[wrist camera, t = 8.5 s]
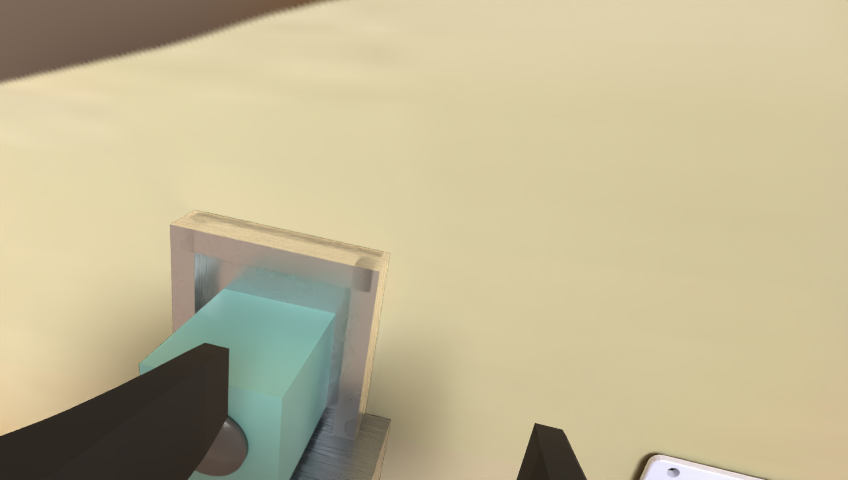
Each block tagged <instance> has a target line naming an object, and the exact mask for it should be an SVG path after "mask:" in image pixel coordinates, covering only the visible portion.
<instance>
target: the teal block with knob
mask: <svg viewBox="0 0 848 480" xmlns="http://www.w3.org/2000/svg"><path fill="white" fill-rule="evenodd" d="M335 315H336V314H334V313H330V312H325V311H321V310H316V309H312V308H308V307H303V306H299V305H294V304H290V303H285V302H281V301H276V300H272V299H267V298H263V297H258V296H254V295H249V294H245V293H241V292H236V291H232V290H227V289H223V290H222V291H221V292H219V293H218V294H217V295H216V296H215V297H214V298H213V299H212V300H210V301H209V302H208V303H207V304H206V305H205V306H204V307H203V308H201V309H200V310H199V311H198V312H197V313H196V314H195V315H194V316H192V317H191V318H190V319H189V320H188V321H187V322H186V323H185V324H183V325H182V326H181V327H180V328H179V329H178V330H177V331H176V332H174V333H173V334H172V335H171V336H170V337H169V338H168V339H167V340H165V341H164V342H163V343H162V344H161V345H160V346H159V347H158V348H156V349H155V350H154V351H153V352H152V353H151V354H150V355H149V356H147V357H146V358H145V359H144V360H143V361H142V362H141V363H140V364H139V368H140V375H142V374H144V373H146V372H148V371H150V370H152V369H154V368H156V367H158V366H160V365H162V364H164V363H166V362H167V361H169V360H171V359H173V358H175V357H177V356H179V355H181V354H183V353H185V352H187V351H189V350H191V349H193V348H195V347H197V346H199V345H201V344H203V343H209V344H213V345H217V346H221V347H225V348H229V386H228V417H227V419H226V421H225V422H224V424H223V426H222V428H221V430H220V431H219V433H218V435H217V437H216V439H215V440H214V442H213V444H212V445H211V447H210V449H209V450H208V452H207V454H206V456H205V457H204V458H203V460H202V461H201V463H200V464H199V465H198V467H197V468H196V469H195V471H194V472H193V473H192V475H191V476H190V477H189V479H188V480H290V478H291V476H292V474H293V472H294V470H295V468H296V466H297V464H298V462H299V460H300V458H301V456H302V454H303V452H304V450H305V448H306V446H307V444H308V442H309V440H310V438H311V436H312V434H313V432H314V430H315V428H316V426H317V424H318V422H319V420H320V418H321V416H322V414H323V412H324V410H325V408H326V402H327V392H328V383H329V373H330V363H331V353H332V344H333V334H334V324H335Z"/></svg>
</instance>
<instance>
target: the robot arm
mask: <svg viewBox="0 0 848 480" xmlns="http://www.w3.org/2000/svg"><path fill="white" fill-rule="evenodd" d="M228 386H229V348H225V347H221V346H217V345H213V344H209V343H203V344H201V345H199V346H197V347H195V348H193V349H191V350H189V351H187V352H185V353H183V354H181V355H179V356H177V357H175V358H173V359H171V360H169V361H167V362H166V363H164V364H162V365H160V366H158V367H156V368H154V369H152V370H150V371H148V372H146V373H144V374H142V375H140V376H138V377H136V378H134V379H132V380H130V381H128V382H126V383H124V384H122V385H120V386H118V387H116V388H114V389H112V390H110V391H108V392H105V393H103V394H101V395H99V396H97V397H95V398H92V399H90V400H88V401H86V402H84V403H82V404H79V405H77V406H75V407H73V408H71V409H69V410H66V411H64V412H62V413H59V414H57V415H54V416H52V417H49V418H47V419H45V420H42V421H40V422H37V423H34V424H32V425H29V426H26V427H24V428H21V429H19V430H16V431H13V432H11V433H8V434H5V435H2V436H0V480H188V479H189V477H190V476H191V475H192V473H193V472H194V471H195V469H196V468H197V467H198V465H199V464H200V463H201V461H202V460H203V458H204V457H205V456H206V454H207V452H208V450H209V449H210V447H211V445H212V444H213V442H214V440H215V439H216V437H217V435H218V433H219V431H220V430H221V428H222V426H223V424H224V422H225V421H226V419H227V417H228ZM670 468H676V469H674V470H668V469H670ZM517 480H587V479H586V477H585V475H584V473H583V471H582V469H581V466H580V464H579V462H578V460H577V458H576V456H575V454H574V452H573V450H572V447H571V445H570V443H569V441H568V439H567V437H566V435H565V433H564V431H563V430H561V429H557V428H553V427H549V426H545V425H541V424H537V423H535V425H534V428H533V431H532V434H531V437H530V440H529V443H528V446H527V449H526V453H525V456H524V459H523V462H522V465H521V468H520V471H519V474H518V477H517ZM640 480H763V479H759V478H755V477H751V476H747V475H743V474H739V473H734V472H730V471H726V470H722V469H718V468H714V467H710V466H706V465H702V464H698V463H694V462H689V461H685V460H681V459H677V458H673V457H669V456H665V455H655V456H653V457H651V458H650V459H649V460H648V462H647V464H646V466H645V468H644V471H643V473H642V475H641V477H640Z"/></svg>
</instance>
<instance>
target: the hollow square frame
mask: <svg viewBox="0 0 848 480" xmlns="http://www.w3.org/2000/svg"><path fill="white" fill-rule="evenodd" d="M170 241H171V276H172V311H173V333H174V332H176V331H177V330H178V329H179V328H180V327H181V326H182V325H183V324H185V323H186V322H187V321H188V320H189V319H190V318H191V317H192V316H194V315H195V314H196V313H197V312H198V311H199V310H200V309H201V308H203V307H204V306H205V305H206V304H207V303H208V302H209V301H210V300H212V299H213V298H214V297H215V296H216V295H217V294H218V293H219V292H221V291H222V290H223V289H227V290H232V291H236V292H241V293H245V294H249V295H254V296H258V297H263V298H267V299H272V300H276V301H281V302H285V303H290V304H294V305H299V306H303V307H308V308H312V309H316V310H321V311H325V312H330V313H334V314H336V315H335V324H334V334H333V344H332V353H331V363H330V373H329V383H328V392H327V402H326V408H325V410H324V412H323V414H322V416H321V418H320V420H319V422H318V424H317V426H316V428H315V430H314V432H313V434H312V436H311V438H310V440H309V442H308V444H307V446H306V448H305V450H304V452H303V454H302V456H301V458H300V460H299V462H298V464H297V466H296V468H295V470H294V472H293V474H292V476H291V478H290V480H380V475H381V469H382V464H383V458H384V453H385V447H386V442H387V436H388V431H389V425H390V420H389V419H385V418H381V417H377V416H373V415H369V414H365V410H366V404H367V397H368V391H369V385H370V378H371V372H372V365H373V359H374V353H375V346H376V340H377V333H378V327H379V321H380V314H381V308H382V301H383V295H384V289H385V282H386V276H387V269H388V263H389V256H390V253H387V252H383V251H378V250H374V249H369V248H365V247H360V246H356V245H351V244H347V243H342V242H338V241H333V240H329V239H324V238H320V237H315V236H311V235H306V234H302V233H297V232H293V231H288V230H284V229H279V228H275V227H270V226H266V225H261V224H257V223H252V222H248V221H243V220H239V219H234V218H230V217H225V216H221V215H216V214H212V213H207V212H203V211H198V210H195V211H193V212H191V213H189V214H188V215H186V216H184V217H182V218H181V219H179V220H177V221H175V222H173V223H172V224H170Z"/></svg>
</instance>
